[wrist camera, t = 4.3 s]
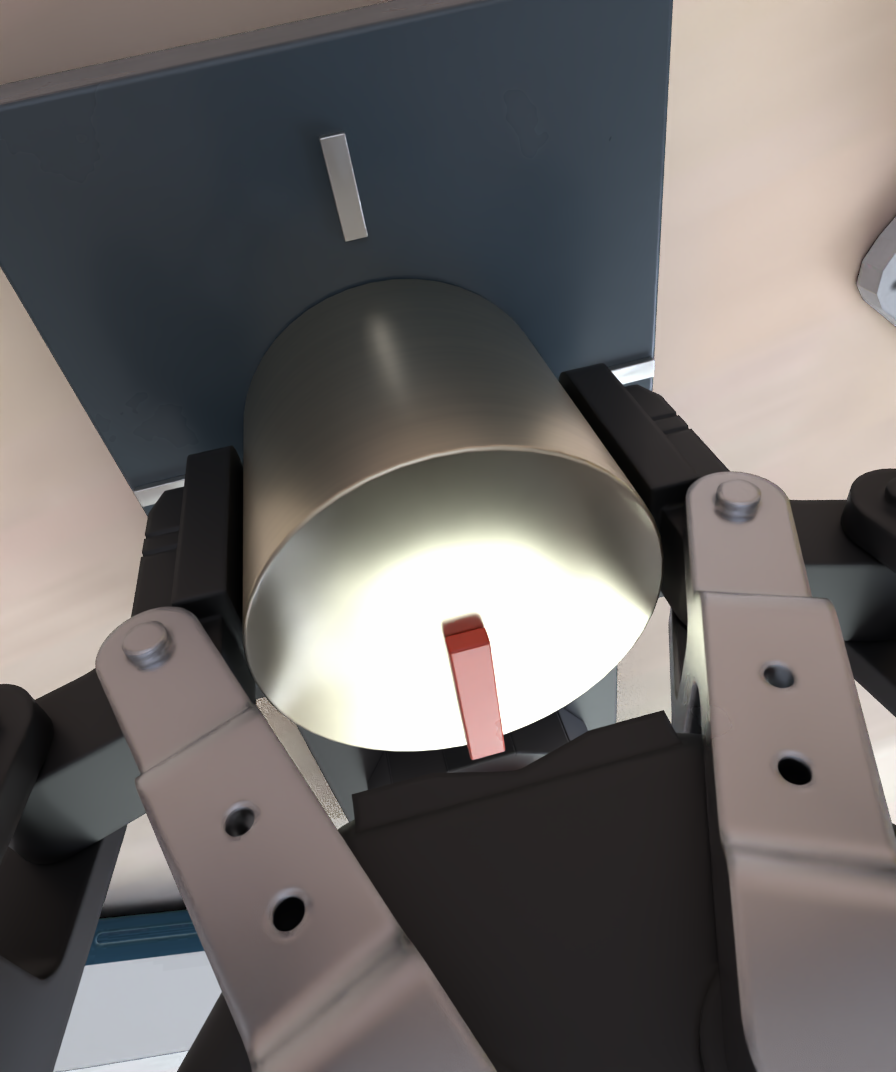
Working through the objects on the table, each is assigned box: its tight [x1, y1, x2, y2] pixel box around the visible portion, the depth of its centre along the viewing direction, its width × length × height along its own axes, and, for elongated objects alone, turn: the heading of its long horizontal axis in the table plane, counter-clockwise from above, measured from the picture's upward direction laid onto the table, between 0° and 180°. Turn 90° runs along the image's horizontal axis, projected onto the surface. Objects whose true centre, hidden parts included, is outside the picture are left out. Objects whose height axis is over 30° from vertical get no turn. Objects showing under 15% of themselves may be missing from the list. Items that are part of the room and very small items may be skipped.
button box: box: [296, 665, 617, 822], centre depth 22 cm, size 10×9×4 cm
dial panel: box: [0, 0, 673, 516], centre depth 14 cm, size 12×10×3 cm
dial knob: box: [242, 279, 664, 760], centre depth 11 cm, size 6×6×5 cm
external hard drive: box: [53, 910, 222, 1072], centre depth 31 cm, size 24×12×2 cm, turn 74°
